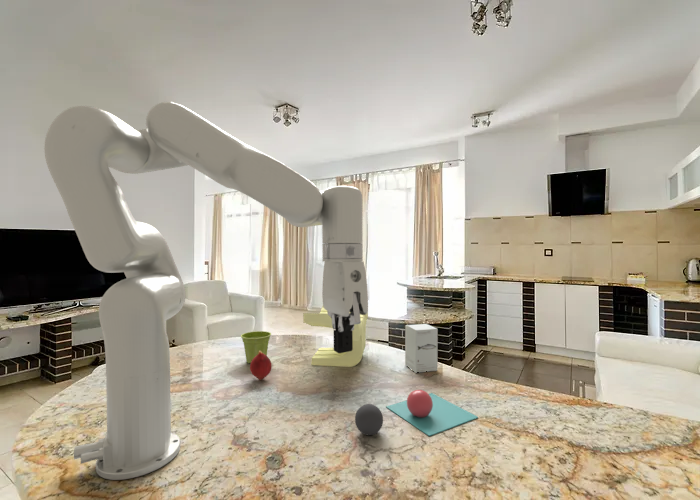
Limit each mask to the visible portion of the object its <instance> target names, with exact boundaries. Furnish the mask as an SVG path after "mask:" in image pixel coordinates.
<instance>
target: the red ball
mask: <svg viewBox="0 0 700 500" xmlns="http://www.w3.org/2000/svg"><path fill="white" fill-rule="evenodd" d="M429 394H430V393H428V392H427V391H425V390H424V389H423V390H422V389H415V390H412V391H411V392H410V393H409V394H408V396H407V399H406V400H407V407H408V409H409V411H410V413H411V414H413V415H414V416H416V417H420V418H422V417H426V416H427V415H429V414H430V412H431V411H432V407H433V402H432V399H431V397H430V395H429Z"/></svg>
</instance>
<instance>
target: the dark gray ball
mask: <svg viewBox="0 0 700 500" xmlns="http://www.w3.org/2000/svg"><path fill="white" fill-rule="evenodd" d="M354 422H355V426H356V428H357V429H358V431H359V432H360V433H361V434H363V435H366V436H373V435H376V434H377V433H378V432H380V430H381V429H382V427H383V423H384V415H383V412H382V411H381V410H380V408H379V407H378V406H376V405H375V404H371V403H366V404H363V405H361V406H360V407H359V408H358V409H357V411H356V413H355V415H354Z"/></svg>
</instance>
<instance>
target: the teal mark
mask: <svg viewBox="0 0 700 500" xmlns="http://www.w3.org/2000/svg"><path fill="white" fill-rule="evenodd" d="M428 394H429V395H430V397H431V399H432V402H433V407H432V411H431V412H430V414H429V415H427V416H426V417H422V418H420V417H416V416H414V415H413V414H411V413H410V411H409V409H408V407H407V399H406V400H404V401H400V402H397V403H396V402H395V403H392V404H390V405H386V406H385V408H386V409H388V410H389V411H391V412H392V413H393V414H395V415H397V416H398V417H400V418H401V419H403V420H404V421H406V422H408V423H409V424H410V425H411V426H413V427H414V428H416V429H418V430H419V431H420V432H422V433H424V434H425V435H426V436H428V437H432V436H434V435H436V434H440V433H442V432H445V431H448V430H450V429H452V428H455V427H458V426H461V425H464V424H466V423H468V422H472V421H473V420H476V419H479V416H477V415H475V414H473V413H471V412H470V411H468V410H465V409H464V408H462V407H460V406H458V405H456V404H454V403H452V402H450V401H448V400H446V399H444V398H442V397H441V396H438V395H437V394H435V393H433V392H430V393H428Z"/></svg>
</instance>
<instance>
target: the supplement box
mask: <svg viewBox="0 0 700 500" xmlns="http://www.w3.org/2000/svg"><path fill="white" fill-rule="evenodd" d="M404 327H405V329H404V331H405V334H404V336H405V337H404V340H405V341H404V342H405V343H404V344H405V345H404V346H405V348H404V349H405V350H404V352H405V353H404V354H405V355H404V360H405V361H404V366H406V365H407V366H408V367H409V368H411V369H412V370H413V371H414V372H413V371H412V370H411V369H410V370H411V371H412V372H413V373H414V374H418V373H417V372H419V373H425V372H426V371H427V372H436V371H438V362H439V360H438V353H439V351H438V340H439V339H438V338H439V337H438V332H439V330H438V328H437V327H435V326H432V325H430V324H428V323H421V324H417V323H416V324H406V325H405V326H404ZM407 366H406V367H407ZM408 367H407V368H408ZM409 368H408V369H409ZM427 372H426V373H427Z"/></svg>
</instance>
